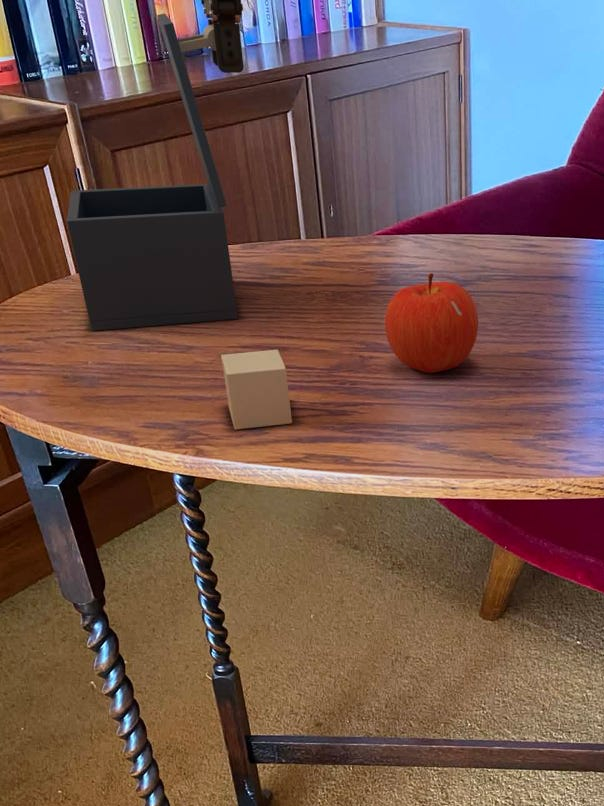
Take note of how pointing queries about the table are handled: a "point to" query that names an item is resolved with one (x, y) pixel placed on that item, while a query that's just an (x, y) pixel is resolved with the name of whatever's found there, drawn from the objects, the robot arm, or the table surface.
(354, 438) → the table surface
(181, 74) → the lid
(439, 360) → the apple
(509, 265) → the table surface
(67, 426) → the table surface
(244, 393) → the block
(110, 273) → the chest
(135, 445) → the table surface
